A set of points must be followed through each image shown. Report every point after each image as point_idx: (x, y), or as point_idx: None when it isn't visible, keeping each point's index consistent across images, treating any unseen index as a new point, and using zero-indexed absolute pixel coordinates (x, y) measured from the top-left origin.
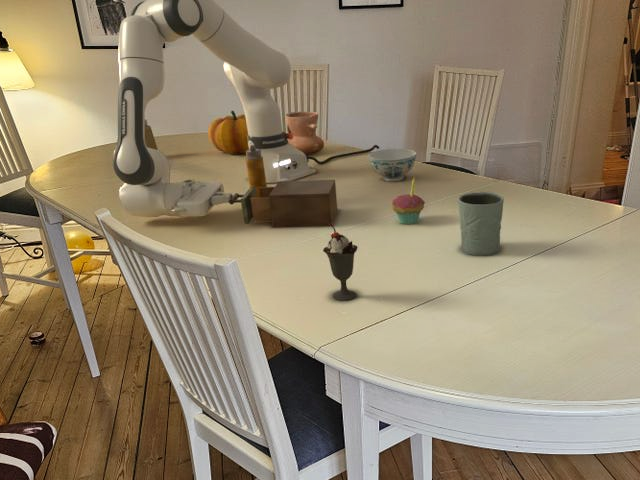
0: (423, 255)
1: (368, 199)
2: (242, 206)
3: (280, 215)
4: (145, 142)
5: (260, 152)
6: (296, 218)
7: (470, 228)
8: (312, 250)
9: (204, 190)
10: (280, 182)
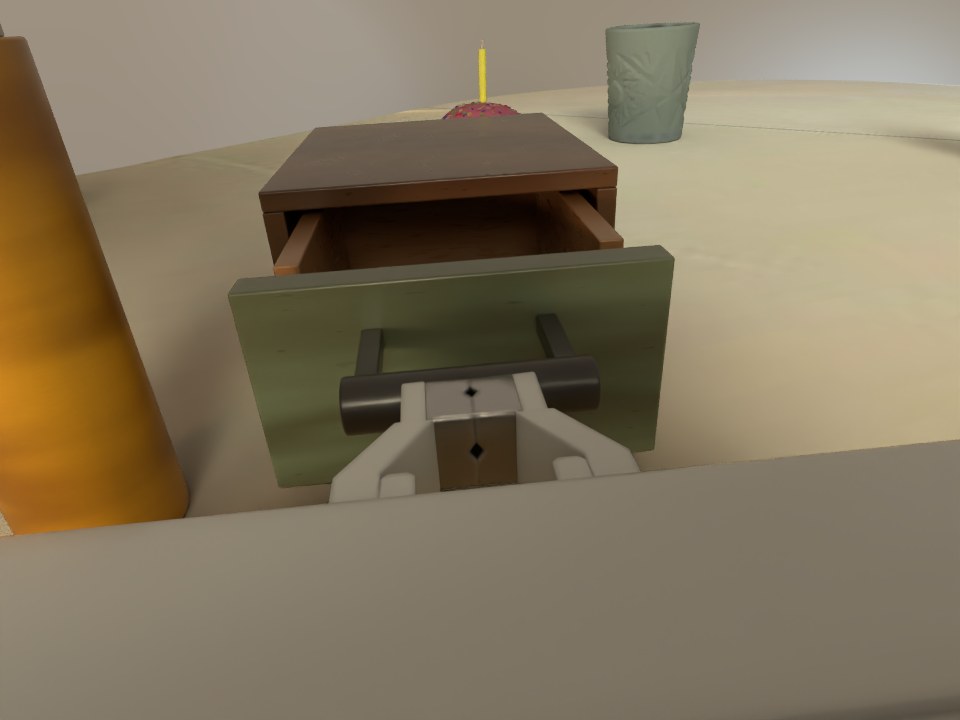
0: (715, 156)
1: (218, 240)
2: (666, 318)
3: None
4: None
5: None
6: None
7: (689, 79)
8: (815, 241)
9: (363, 668)
10: (299, 184)
